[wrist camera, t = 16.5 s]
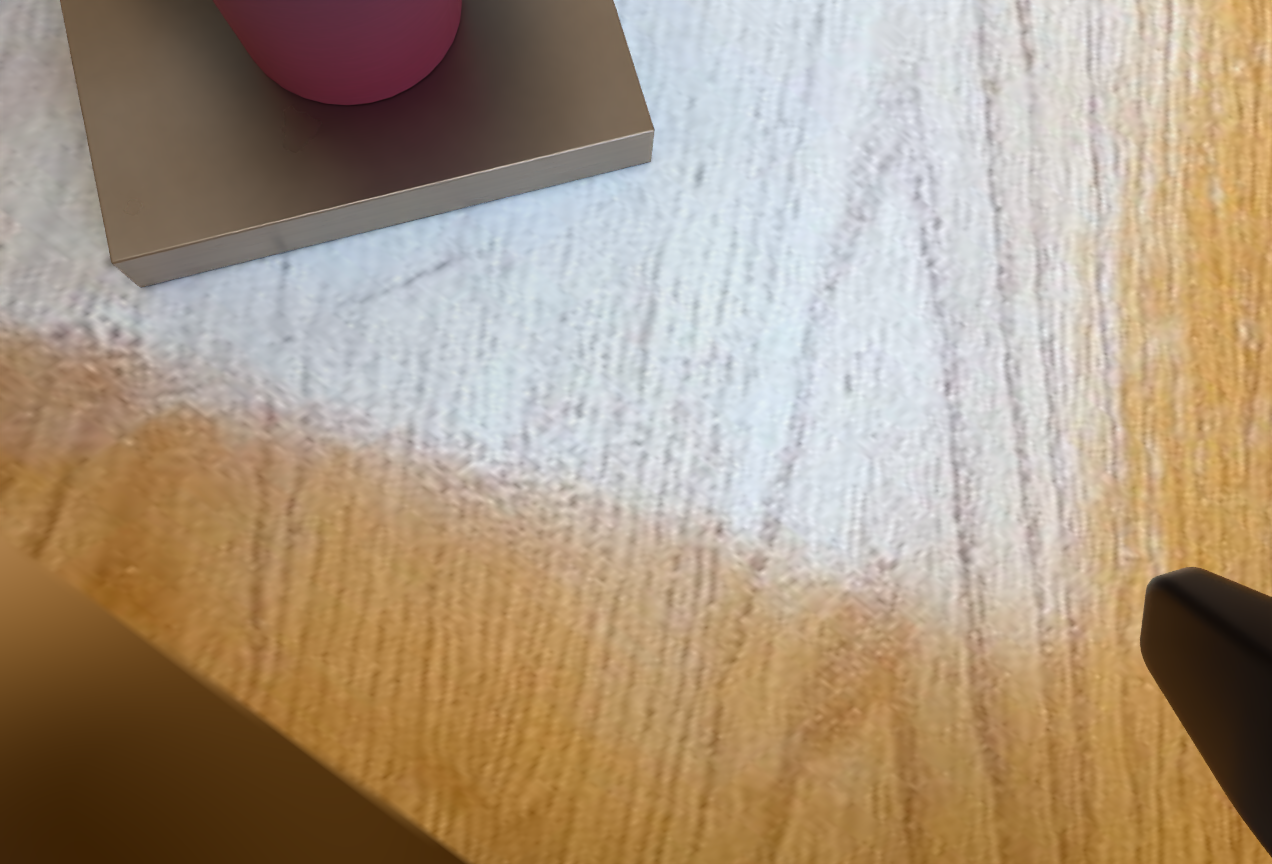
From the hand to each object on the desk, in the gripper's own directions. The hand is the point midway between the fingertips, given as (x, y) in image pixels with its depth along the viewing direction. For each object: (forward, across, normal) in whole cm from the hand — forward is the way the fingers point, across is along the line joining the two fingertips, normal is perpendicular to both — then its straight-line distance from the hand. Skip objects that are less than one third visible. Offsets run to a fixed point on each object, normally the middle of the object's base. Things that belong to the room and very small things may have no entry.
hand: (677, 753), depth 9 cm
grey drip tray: (+22, +2, -2) cm, 22 cm away
